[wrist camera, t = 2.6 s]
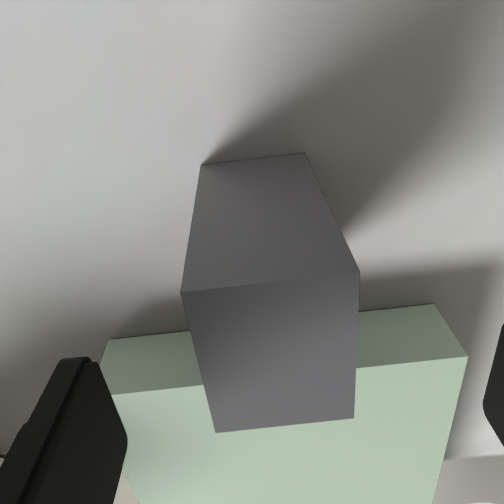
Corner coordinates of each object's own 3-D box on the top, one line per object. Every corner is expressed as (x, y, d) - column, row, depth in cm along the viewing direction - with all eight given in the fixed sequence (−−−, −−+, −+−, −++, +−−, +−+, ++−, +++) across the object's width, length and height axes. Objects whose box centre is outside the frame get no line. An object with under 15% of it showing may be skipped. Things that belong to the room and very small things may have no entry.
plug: (200, 164, 14) (180, 292, 8) (304, 152, 14) (359, 271, 8) (220, 273, 16) (215, 433, 10) (308, 263, 16) (354, 418, 10)
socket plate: (108, 340, 18) (88, 397, 15) (434, 303, 18) (468, 356, 15) (192, 552, 29) (188, 606, 26) (396, 531, 28) (412, 584, 26)
